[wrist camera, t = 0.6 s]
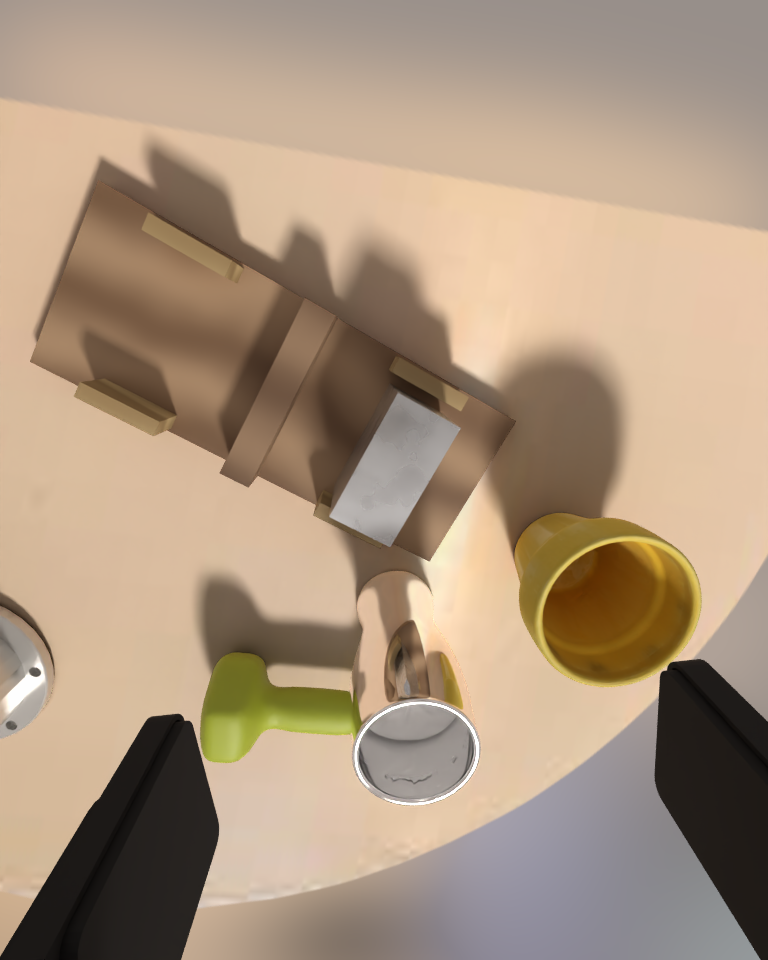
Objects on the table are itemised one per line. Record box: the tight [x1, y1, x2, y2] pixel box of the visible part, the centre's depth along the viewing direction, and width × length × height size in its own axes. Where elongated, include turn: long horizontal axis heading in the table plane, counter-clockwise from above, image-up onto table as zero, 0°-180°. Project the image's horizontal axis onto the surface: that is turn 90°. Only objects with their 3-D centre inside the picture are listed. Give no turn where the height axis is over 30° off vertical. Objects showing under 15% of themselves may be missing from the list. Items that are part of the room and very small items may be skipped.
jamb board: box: [30, 180, 516, 561], centre depth 32 cm, size 12×30×4 cm, turn 61°
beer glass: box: [349, 571, 480, 805], centre depth 32 cm, size 7×7×15 cm
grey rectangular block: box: [329, 384, 461, 547], centre depth 31 cm, size 8×4×7 cm, turn 151°
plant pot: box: [515, 513, 702, 687], centre depth 34 cm, size 10×10×10 cm
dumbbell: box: [200, 652, 351, 763], centre depth 37 cm, size 16×8×7 cm, turn 82°
